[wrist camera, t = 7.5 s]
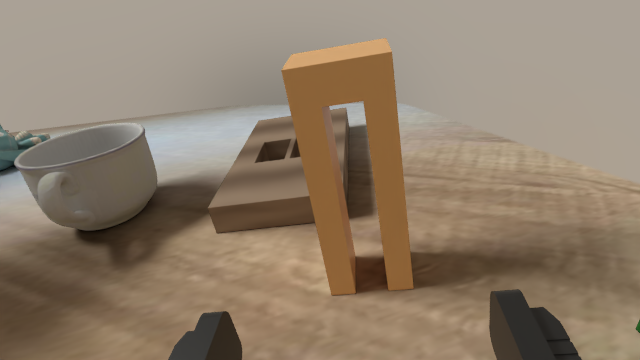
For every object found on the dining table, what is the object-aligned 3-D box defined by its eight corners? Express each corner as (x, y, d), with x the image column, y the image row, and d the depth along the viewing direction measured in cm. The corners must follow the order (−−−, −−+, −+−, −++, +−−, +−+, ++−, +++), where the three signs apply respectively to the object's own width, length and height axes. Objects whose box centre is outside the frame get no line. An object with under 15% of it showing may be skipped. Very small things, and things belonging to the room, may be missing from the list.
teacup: (95, 192, 45) (61, 127, 42) (185, 179, 44) (158, 110, 41) (7, 276, 33) (-51, 195, 30) (128, 261, 32) (83, 174, 28)
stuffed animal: (62, 109, 64) (-13, 123, 53) (76, 152, 66) (7, 174, 55) (11, 115, 67) (-70, 130, 56) (26, 156, 69) (-49, 178, 58)
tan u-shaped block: (413, 288, 24) (391, 51, 17) (331, 295, 25) (281, 70, 18) (406, 251, 27) (385, 38, 20) (333, 258, 28) (291, 54, 21)
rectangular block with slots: (347, 218, 32) (342, 192, 30) (216, 233, 33) (207, 208, 32) (349, 127, 49) (346, 107, 48) (263, 139, 51) (258, 120, 50)
